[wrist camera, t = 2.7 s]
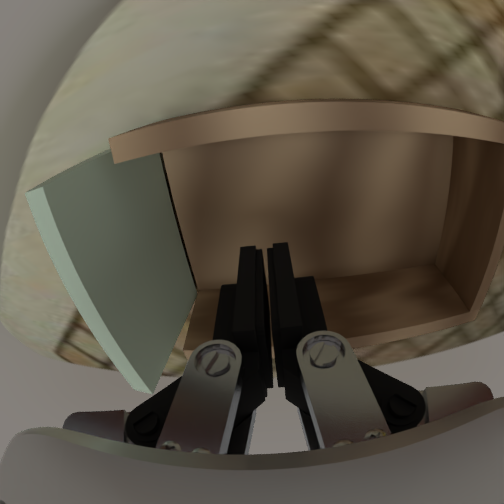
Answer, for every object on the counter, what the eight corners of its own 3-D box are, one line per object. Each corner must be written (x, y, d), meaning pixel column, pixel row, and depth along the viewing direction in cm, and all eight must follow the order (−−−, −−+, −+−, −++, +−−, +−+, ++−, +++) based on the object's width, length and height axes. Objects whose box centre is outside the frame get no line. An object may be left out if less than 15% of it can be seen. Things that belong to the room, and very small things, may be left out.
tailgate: (155, 133, 13) (42, 186, 6) (197, 294, 19) (152, 394, 12) (133, 139, 13) (21, 194, 7) (178, 294, 19) (130, 388, 12)
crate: (457, 109, 12) (523, 128, 7) (437, 267, 18) (474, 320, 13) (160, 120, 13) (108, 138, 8) (203, 293, 20) (188, 361, 15)
